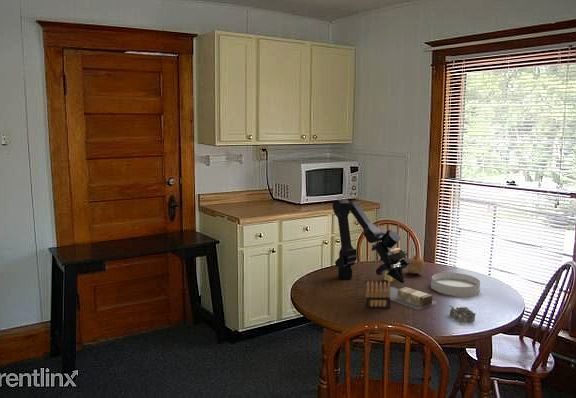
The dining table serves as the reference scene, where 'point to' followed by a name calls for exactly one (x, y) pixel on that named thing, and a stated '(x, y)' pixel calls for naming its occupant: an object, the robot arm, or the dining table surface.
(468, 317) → the dark green lumpy clump
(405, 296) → the birch block
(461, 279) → the dish
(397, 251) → the candy box
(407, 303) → the rubber mat
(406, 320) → the dining table surface
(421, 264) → the onion
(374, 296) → the ammunition clip
